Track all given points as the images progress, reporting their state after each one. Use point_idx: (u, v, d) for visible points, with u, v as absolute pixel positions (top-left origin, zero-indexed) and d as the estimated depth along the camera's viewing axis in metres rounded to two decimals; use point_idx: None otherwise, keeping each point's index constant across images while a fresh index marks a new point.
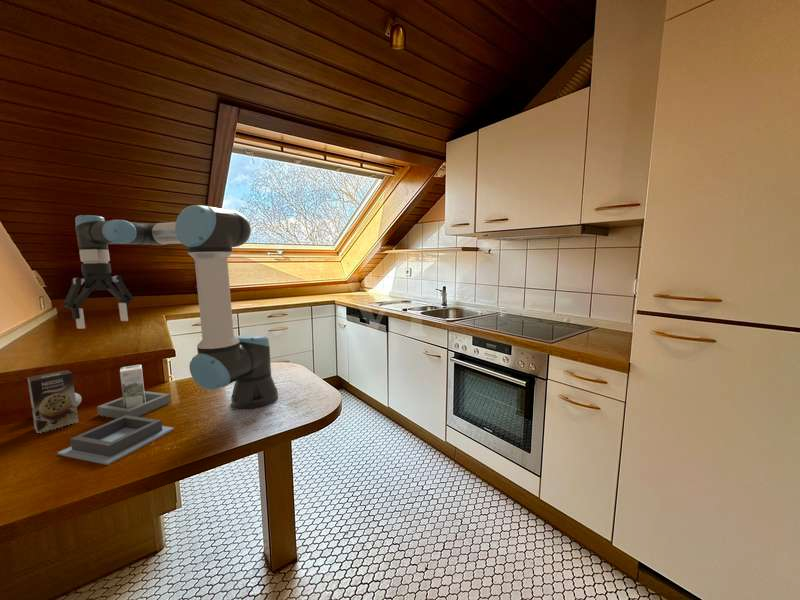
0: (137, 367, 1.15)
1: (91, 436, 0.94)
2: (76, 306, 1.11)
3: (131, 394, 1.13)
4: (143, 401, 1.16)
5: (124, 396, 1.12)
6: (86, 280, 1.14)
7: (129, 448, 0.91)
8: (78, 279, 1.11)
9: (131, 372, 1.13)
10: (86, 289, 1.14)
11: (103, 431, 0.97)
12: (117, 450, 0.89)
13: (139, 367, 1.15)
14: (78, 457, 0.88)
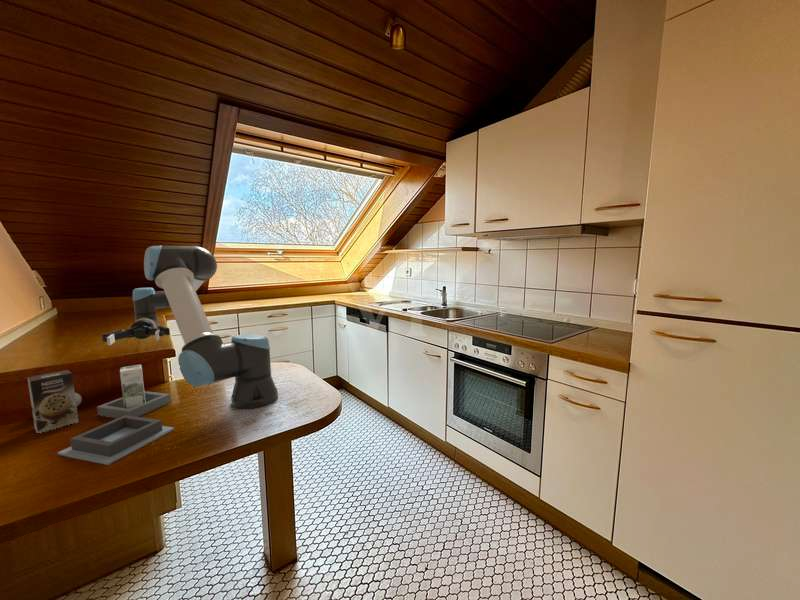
0: (137, 367, 1.15)
1: (91, 436, 0.94)
2: None
3: (131, 394, 1.13)
4: (143, 401, 1.16)
5: (124, 396, 1.12)
6: None
7: (129, 448, 0.91)
8: (120, 329, 1.33)
9: (131, 372, 1.13)
10: None
11: (103, 431, 0.97)
12: (117, 450, 0.89)
13: (139, 367, 1.15)
14: (78, 457, 0.88)
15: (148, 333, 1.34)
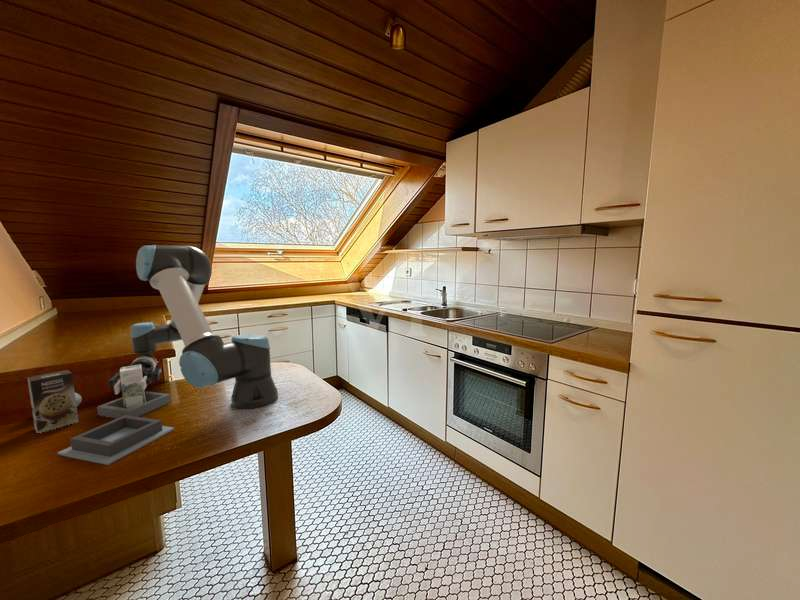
0: (137, 367, 1.15)
1: (91, 436, 0.94)
2: (116, 380, 1.15)
3: (131, 394, 1.13)
4: (143, 401, 1.16)
5: (124, 396, 1.12)
6: None
7: (129, 448, 0.91)
8: None
9: (131, 371, 1.13)
10: None
11: (103, 431, 0.97)
12: (117, 450, 0.89)
13: (139, 367, 1.15)
14: (78, 457, 0.88)
15: (143, 376, 1.24)
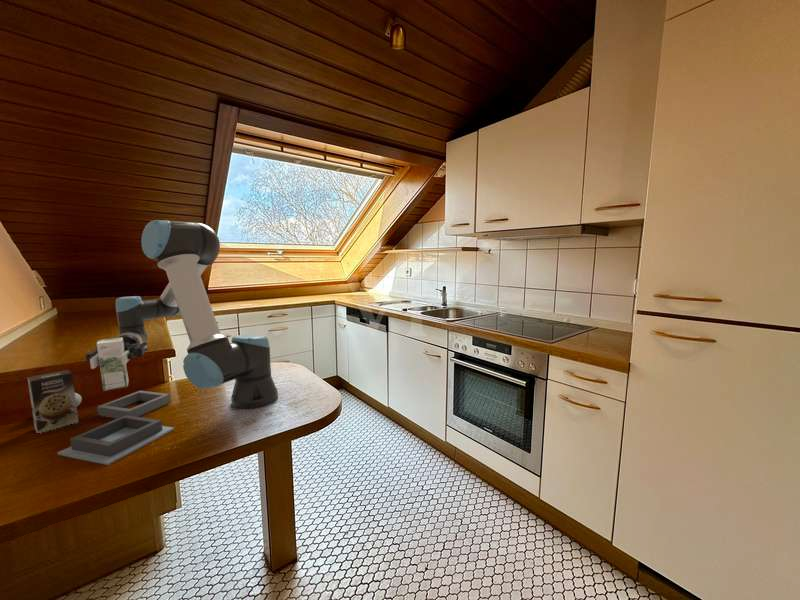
0: (117, 339, 1.02)
1: (91, 436, 0.94)
2: (94, 354, 1.03)
3: (110, 369, 1.01)
4: (124, 378, 1.03)
5: (102, 371, 1.00)
6: None
7: (129, 448, 0.91)
8: (96, 348, 1.10)
9: (110, 344, 1.00)
10: None
11: (103, 431, 0.97)
12: (117, 450, 0.89)
13: (119, 339, 1.02)
14: (78, 457, 0.88)
15: None
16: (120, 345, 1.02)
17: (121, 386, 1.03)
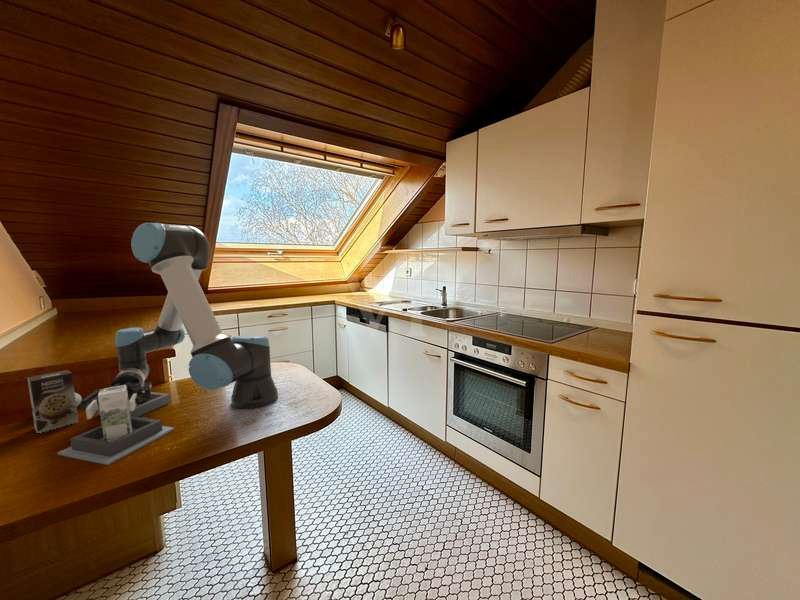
0: (120, 389, 0.94)
1: (91, 436, 0.94)
2: (90, 400, 0.94)
3: (112, 422, 0.92)
4: (127, 430, 0.94)
5: (103, 425, 0.91)
6: None
7: (129, 448, 0.91)
8: (96, 389, 1.02)
9: (112, 395, 0.92)
10: None
11: None
12: (117, 450, 0.89)
13: (122, 389, 0.94)
14: (78, 457, 0.88)
15: (130, 393, 1.03)
16: (123, 395, 0.93)
17: None
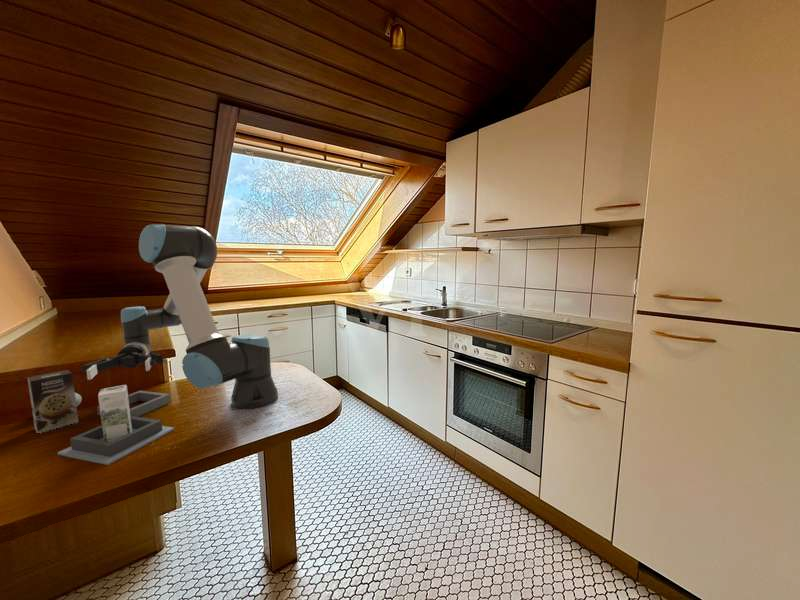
0: (120, 389, 0.94)
1: (91, 436, 0.94)
2: None
3: (112, 422, 0.92)
4: (127, 430, 0.94)
5: (104, 425, 0.91)
6: None
7: (129, 448, 0.91)
8: None
9: (112, 395, 0.92)
10: None
11: None
12: (117, 450, 0.89)
13: (123, 389, 0.94)
14: (78, 457, 0.88)
15: (138, 361, 1.14)
16: (123, 395, 0.93)
17: None
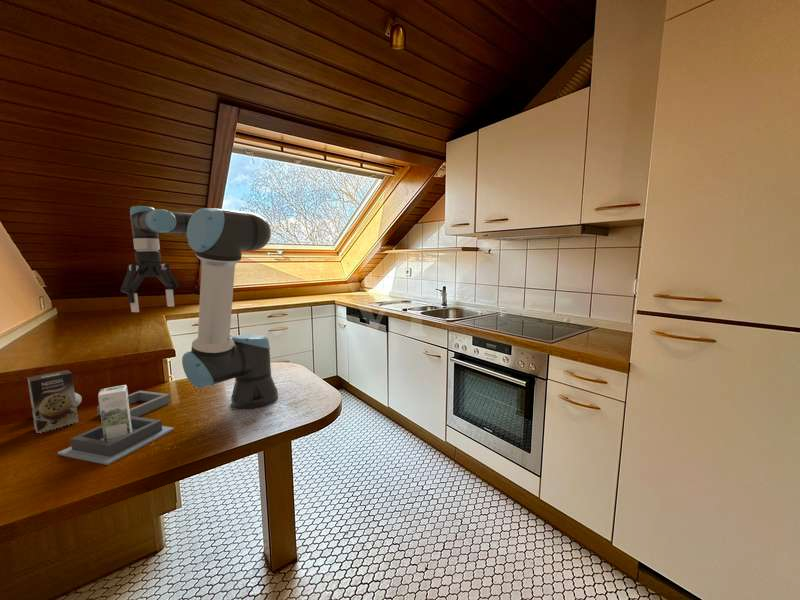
0: (120, 389, 0.94)
1: (91, 436, 0.94)
2: (132, 291, 1.19)
3: (112, 422, 0.92)
4: (127, 430, 0.94)
5: (104, 425, 0.91)
6: (140, 267, 1.22)
7: (129, 448, 0.91)
8: (133, 266, 1.19)
9: (112, 395, 0.92)
10: (139, 275, 1.22)
11: None
12: (117, 450, 0.89)
13: (123, 389, 0.94)
14: (78, 457, 0.88)
15: (156, 275, 1.29)
16: (123, 395, 0.93)
17: None
